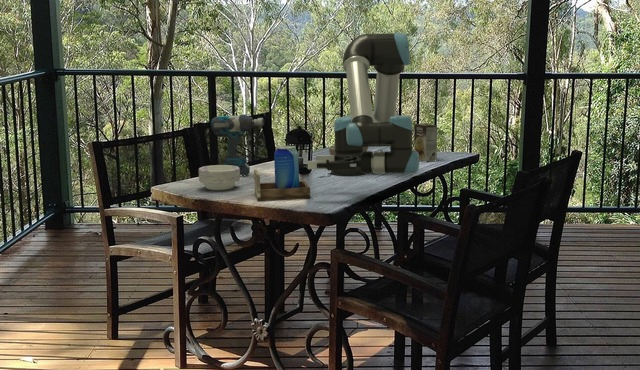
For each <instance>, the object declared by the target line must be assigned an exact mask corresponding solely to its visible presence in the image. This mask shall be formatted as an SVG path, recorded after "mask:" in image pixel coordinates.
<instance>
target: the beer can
mask: <svg viewBox="0 0 640 370" xmlns="http://www.w3.org/2000/svg"><path fill="white" fill-rule="evenodd" d="M273 158H274V159H273V160H274V162H273V163H274V165H273V166H274V182H275V189H283V188H299V181H300V165H299V164H300V162H299V152H298V150H297V149H296V146H293V145H281V146H277V147H276V150H275V151H274V154H273Z"/></svg>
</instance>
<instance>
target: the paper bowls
mask: <svg viewBox="0 0 640 370" xmlns="http://www.w3.org/2000/svg"><path fill="white" fill-rule="evenodd" d="M240 180H241V177H240V168H239V167H237V166H231V165H225V164H216V165H215V164H214V165H204V166H201V167H199V168H198V181H199V182H200V183H203V185H204V187H205V189H207V190H210V191H227V190H230V189H233V188H234V187H235V185H236V183H237V182H239V181H240Z"/></svg>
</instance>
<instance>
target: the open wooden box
mask: <svg viewBox="0 0 640 370" xmlns="http://www.w3.org/2000/svg"><path fill="white" fill-rule="evenodd" d="M253 178H254V179H253V180H254V181H253V182H254V196H255V199H256V200H257V202H264V201H265V202H266V201H268V202H269V201H281V200H284V201H285V200H299V199H300V200H302V199H311V187H310V186H309V185H308V183H307V182H306V181H305V180H299V188H283V189H275V181H274V182H261V175H260V172H259V171H258V169H257V168H253Z"/></svg>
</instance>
